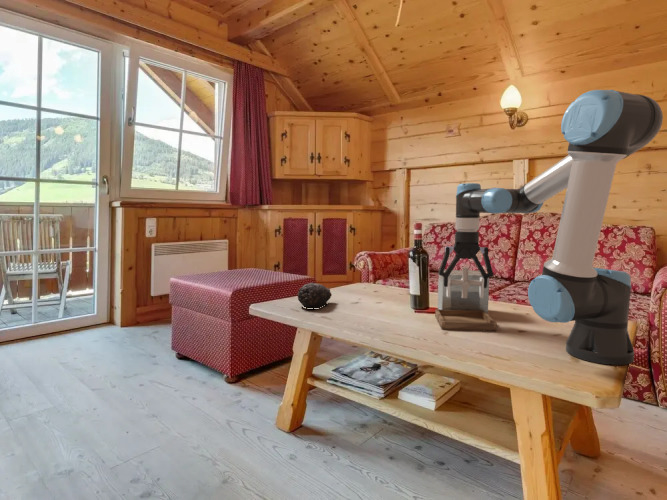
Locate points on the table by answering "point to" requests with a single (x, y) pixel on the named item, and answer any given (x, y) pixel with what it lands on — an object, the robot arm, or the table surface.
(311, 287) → the black oval piece
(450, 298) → the box
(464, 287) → the pipe connector
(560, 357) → the table surface
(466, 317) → the tray
